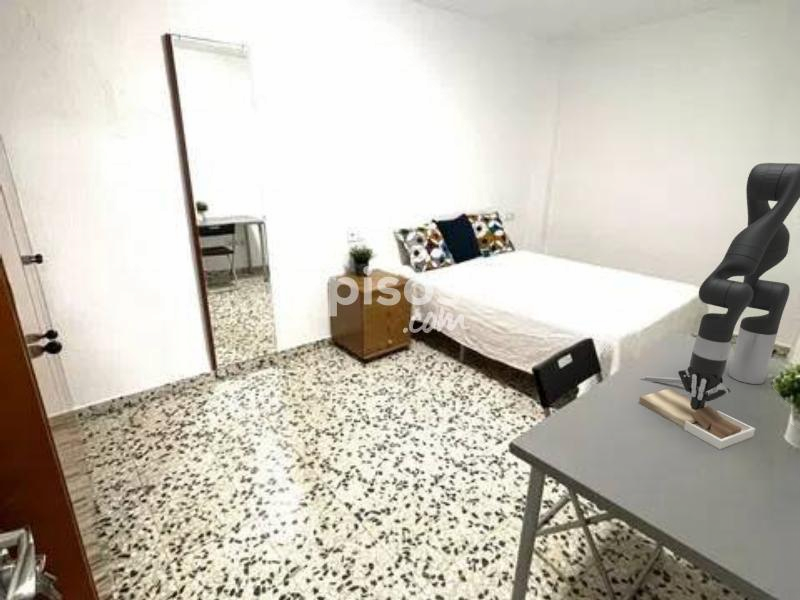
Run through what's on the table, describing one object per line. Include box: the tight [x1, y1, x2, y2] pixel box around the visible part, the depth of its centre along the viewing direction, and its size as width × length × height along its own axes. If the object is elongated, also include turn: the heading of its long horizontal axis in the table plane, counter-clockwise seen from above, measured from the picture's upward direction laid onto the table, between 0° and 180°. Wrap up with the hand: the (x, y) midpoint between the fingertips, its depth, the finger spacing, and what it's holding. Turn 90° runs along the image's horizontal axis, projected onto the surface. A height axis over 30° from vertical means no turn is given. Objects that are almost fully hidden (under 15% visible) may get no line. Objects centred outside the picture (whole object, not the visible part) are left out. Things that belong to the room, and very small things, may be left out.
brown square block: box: [692, 405, 723, 429], centre depth 111 cm, size 4×4×3 cm
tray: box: [683, 410, 756, 450], centre depth 109 cm, size 13×9×2 cm
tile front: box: [710, 419, 742, 439], centre depth 107 cm, size 4×4×3 cm
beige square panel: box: [638, 388, 706, 429], centre depth 120 cm, size 12×14×2 cm
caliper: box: [639, 375, 717, 394], centre depth 132 cm, size 20×1×6 cm, turn 55°
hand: (696, 409), depth 114 cm, fingers closed
